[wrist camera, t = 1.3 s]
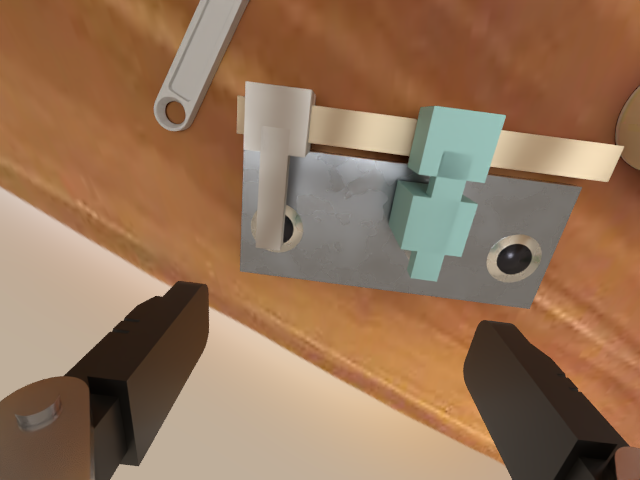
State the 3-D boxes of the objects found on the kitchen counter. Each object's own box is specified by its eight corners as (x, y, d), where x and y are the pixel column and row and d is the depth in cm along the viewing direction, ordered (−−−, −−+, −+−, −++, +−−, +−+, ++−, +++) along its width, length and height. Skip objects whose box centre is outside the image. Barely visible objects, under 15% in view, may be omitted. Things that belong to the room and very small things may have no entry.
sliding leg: (383, 248, 26) (393, 278, 21) (413, 108, 22) (434, 105, 17) (430, 255, 26) (452, 285, 21) (469, 115, 22) (506, 115, 17)
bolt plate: (243, 266, 29) (239, 271, 28) (247, 142, 25) (243, 143, 24) (523, 302, 29) (530, 309, 28) (572, 184, 25) (583, 187, 24)
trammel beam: (244, 224, 27) (226, 245, 23) (249, 86, 23) (229, 79, 19) (539, 263, 27) (579, 291, 23) (595, 131, 23) (656, 135, 19)
